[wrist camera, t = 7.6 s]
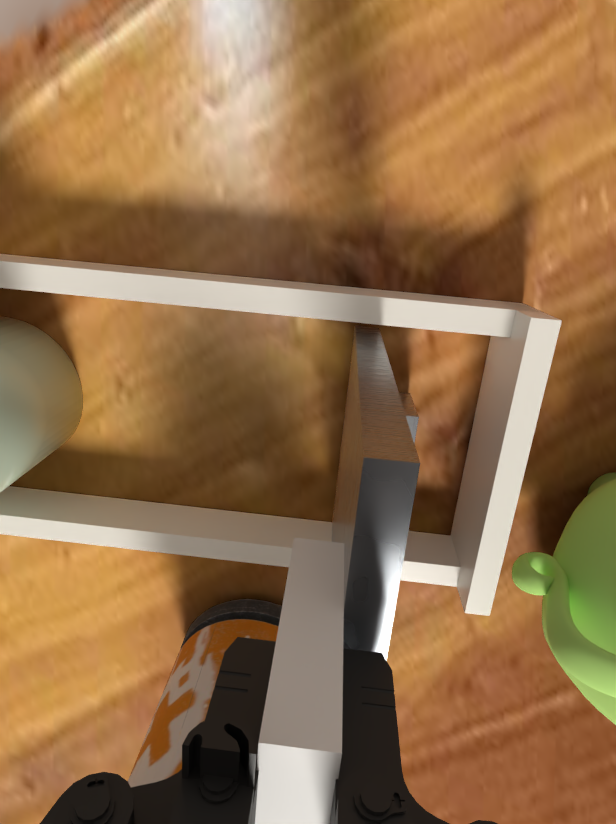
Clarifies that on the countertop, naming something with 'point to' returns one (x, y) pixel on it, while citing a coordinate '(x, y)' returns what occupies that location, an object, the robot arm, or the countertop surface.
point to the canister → (198, 681)
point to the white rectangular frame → (273, 535)
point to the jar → (33, 398)
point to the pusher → (374, 492)
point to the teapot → (581, 595)
